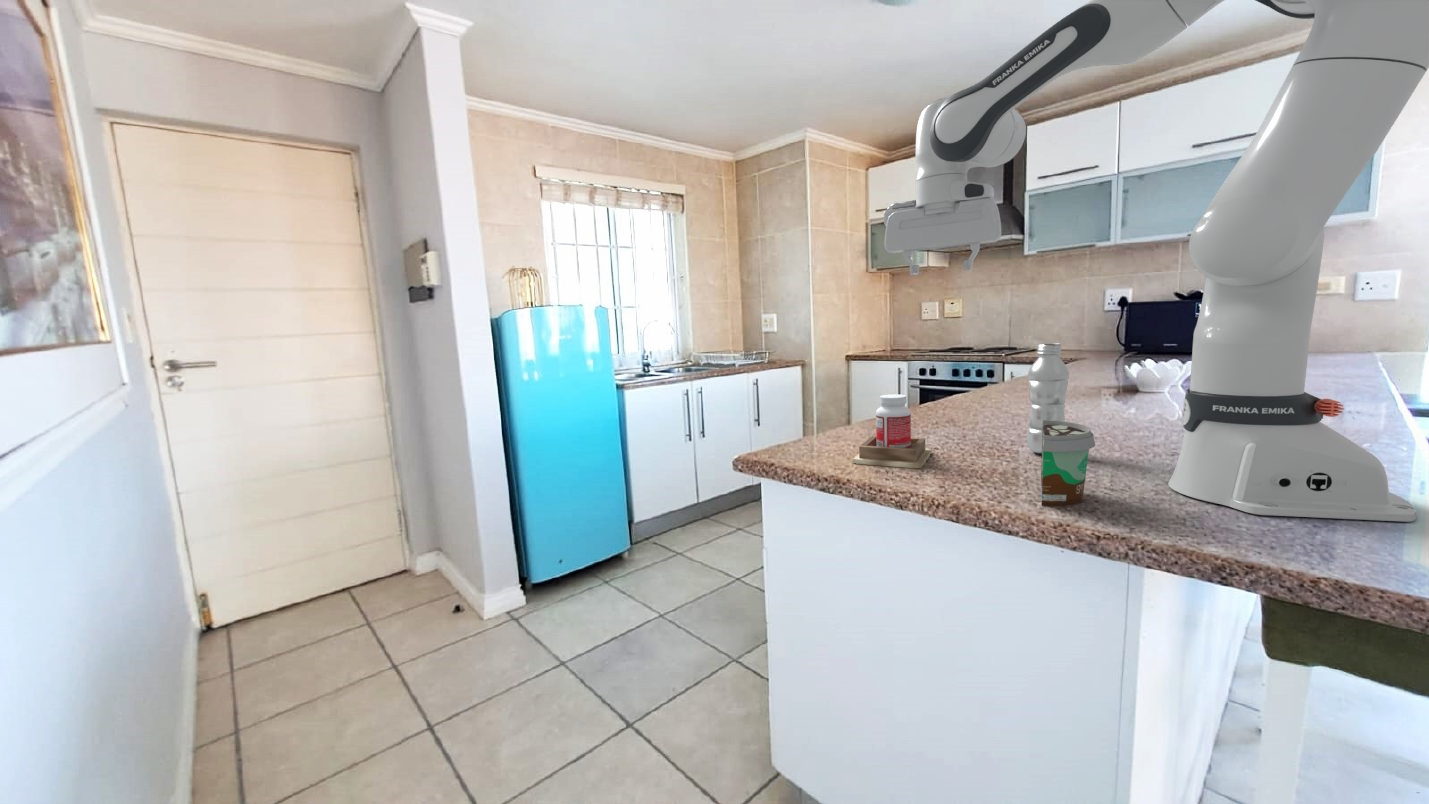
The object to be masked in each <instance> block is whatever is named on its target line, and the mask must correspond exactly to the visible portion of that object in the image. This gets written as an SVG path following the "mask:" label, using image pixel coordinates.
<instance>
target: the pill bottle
mask: <svg viewBox="0 0 1429 804" xmlns="http://www.w3.org/2000/svg"><path fill="white" fill-rule="evenodd" d="M907 401H908V400H907V395H906V394H895V393H894V394H881V395H880V396H879V405H880V407H879V408H877V409H876V411H875V429H876V435H875V436H876V441H877V447H893V448H910V449H911V438H912V427H911V426H912V425H911V424H912V422H911V421H912V420H911V416H912V415H911V409H909V408H908V407H907V406H906V404H907Z"/></svg>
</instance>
